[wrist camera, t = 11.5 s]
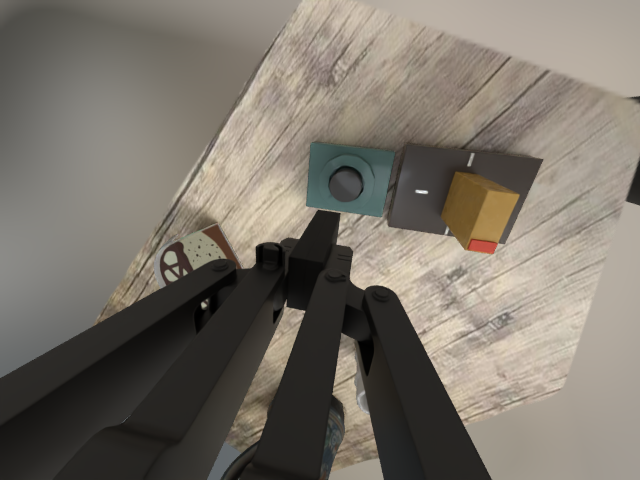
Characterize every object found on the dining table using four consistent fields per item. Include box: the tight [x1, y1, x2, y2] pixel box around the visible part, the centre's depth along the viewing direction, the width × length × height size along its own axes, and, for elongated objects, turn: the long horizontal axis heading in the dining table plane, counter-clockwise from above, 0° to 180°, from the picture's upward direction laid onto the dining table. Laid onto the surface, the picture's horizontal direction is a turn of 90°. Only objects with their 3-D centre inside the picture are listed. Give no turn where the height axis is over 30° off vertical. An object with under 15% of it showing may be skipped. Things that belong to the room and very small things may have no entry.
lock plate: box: [387, 143, 543, 244], centre depth 30 cm, size 14×10×3 cm
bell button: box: [329, 168, 362, 202], centre depth 29 cm, size 4×4×2 cm
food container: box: [154, 223, 244, 308], centre depth 38 cm, size 12×6×10 cm, turn 22°
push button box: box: [306, 142, 395, 217], centre depth 31 cm, size 10×8×4 cm
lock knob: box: [441, 171, 520, 254], centre depth 25 cm, size 6×2×9 cm, turn 174°
